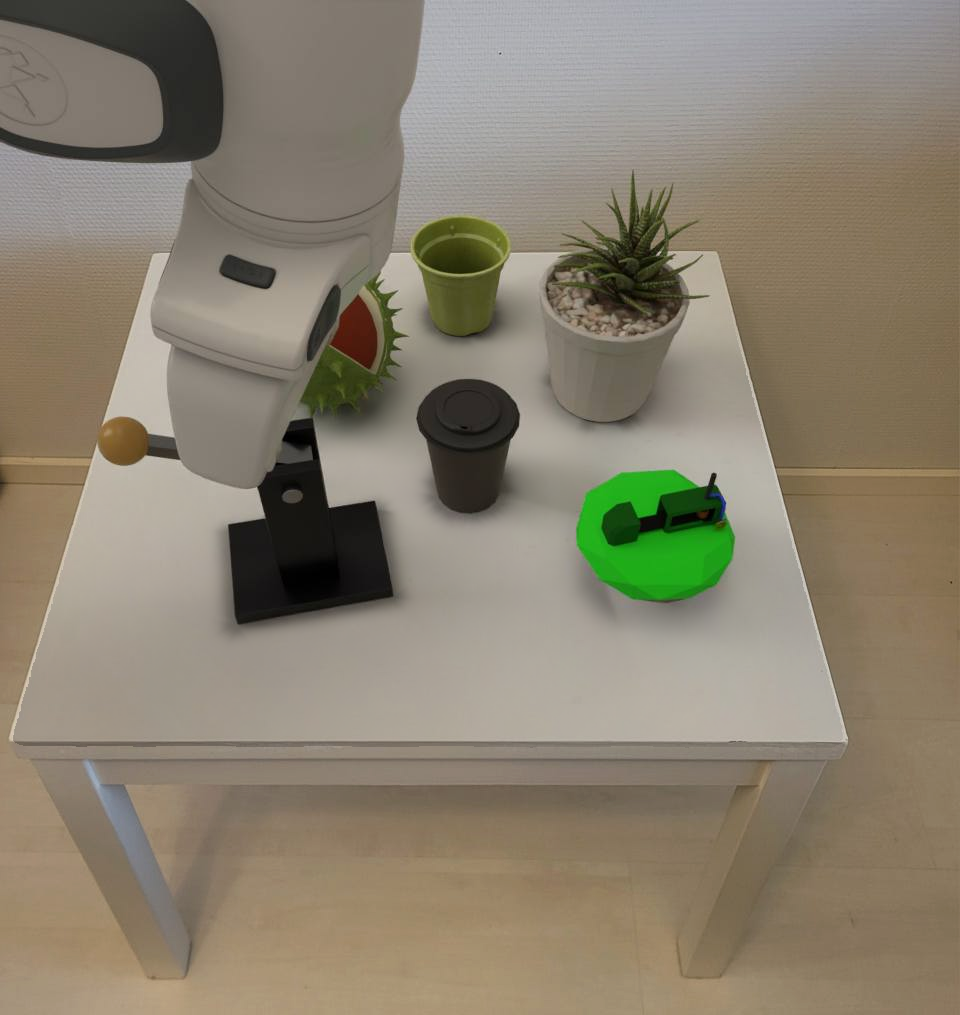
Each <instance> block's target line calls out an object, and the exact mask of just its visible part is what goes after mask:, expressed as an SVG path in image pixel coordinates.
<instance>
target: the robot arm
mask: <svg viewBox="0 0 960 1015" xmlns="http://www.w3.org/2000/svg"><path fill="white" fill-rule="evenodd" d="M425 4H426V0H0V143H2V144H3V145H7V146H8V147H12V148H14V149H16V150H20V151H23V152H27V153H30V154H34V155H37V156H43V157H49V158H55V159H64V160H74V161H86V162H88V161H89V162H100V163H102V162H104V163H120V164H122V163H123V164H177V163H178V164H179V163H187V162H190V170H191V178H189V179H188V180H187V182H186V184H185V185H186V186H185V190H184V195H183V202H182V209H181V215H180V220H179V225H178V229H177V233H176V237H175V239H174V241H173V244H172V246H171V249H170V251H169V252H170V253H169V255H168V258H167V261H166V263H165V266H164V269H163V271H162V274H161V276H160V279H159V281H158V285H157V288H156V290H155V292H154V296H153V297H152V301H151V305H150V313H149V315H150V322H151V329H152V333H153V336H154V337H155V338H157V339H158V340H160V341H163V342H164V343H167V344H170V348H169V354H168V358H167V366H166V368H167V369H166V390H167V393H166V394H167V401H168V407H169V414H170V421H171V425H172V426H171V427H172V431H173V437H174V438H175V442H176V446H177V450H178V454H179V457H180V460H179V461H180V462H181V464H182V466H183V467H184V468H185V469H186V470H187V471H189V472H190V473H192V474H194V475H196V476H198V477H201V478H204V479H206V480H209V481H211V482H215V483H217V484H221V485H225V486H228V487H232V488H236V489H241V490H252V489H255V488H257V487H258V486H259V485H260V484H261V483H262V481H263V480H264V478H265V476H266V473H267V472H270V471H272V470H273V468H274V466H275V463H276V461H277V459H278V457H279V455H280V452H281V450H282V446H281V444H282V438H283V436H284V434H285V432H286V430H287V428H288V425H289V423H290V421H292V419H293V417H294V415H295V413H296V410H297V408H298V406H299V404H300V400H301V397H302V395H303V393H304V391H305V389H306V387H307V385H308V382H309V380H310V378H311V376H312V374H313V372H314V369H315V367H316V365H317V363H318V361H319V359H320V357H321V354H322V352H323V350H324V348H325V346H328V345H330V344H331V342H332V339H333V337H334V335H335V333H336V331H337V329H338V327H339V319H340V315H341V313H342V312H343V311H344V310H345V309H346V308H347V307H348V305H349V304H350V303H351V302H352V301H353V300H354V298H355V297H356V296H357V295H358V293H359V292H360V290H361V289H362V287H363V285H365V284H367V283H368V282H369V281H370V280H372V279H373V278H374V277H375V276H376V275H377V274H378V273H379V272H380V271H381V272H382V269H384V267H385V266H386V264H387V262H388V260H389V257H390V255H391V252H392V249H393V244H394V236H395V229H396V223H397V222H396V221H397V216H398V215H397V214H398V207H399V206H398V205H399V200H400V191H401V185H402V179H403V172H404V165H405V142H404V137H403V132H402V127H401V116H402V110H403V108H404V106H405V104H406V103H407V100H408V98H409V96H410V95H411V92H412V90H413V88H414V87H413V86H414V83H415V80H416V75H417V70H418V63H419V55H420V49H421V39H422V32H423V24H424V14H425Z"/></svg>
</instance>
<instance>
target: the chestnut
mask: <svg viewBox="0 0 960 1015" xmlns="http://www.w3.org/2000/svg"><path fill="white" fill-rule="evenodd" d="M381 273H382V270H381V271H380V272H379V273H378V274H377V275H376V276H375V277H374V278H373V279H372V280H370V281H369V282H368V283H367V284H365V285H363V287H362V289H361V290H360V292H359V293H358V295H357V296H356V297H355V298H354V300H353V301H352V302H351V303H350V304H349V305H348V307H347V308H346V309H345V310H344V311H343V312H342V313H341V315H340V319H339V327H338V329H337V331H336V333H335V335H334V337H333V339H332V342H331V344H330V345H328V346H325V348H324V350H323V352H322V354H321V357H320V359H319V361H318V363H317V365H316V367H315V369H314V372H313V374H312V376H311V378H310V380H309V382H308V385H307V387H306V389H305V391H304V393H303V395H302V397H301V400H300V402H299V404H300V403H301V404H304V405H306V406H307V407H308V411H309V418H313V416H314V414H315V411H316V409H317V408H318V407H319V410H320V414H321V415H322V414H323V413H324V409H325V407H329V408H330V409H331V410H332V412H333V414H334V417H335V420H336V421H337V420H338V408H339V405H341V404H343V405H344V406H345V407H346V408H347V403H349V404H350V405H351V406H352V407H353V408H354V409H355V410H356V411H357V412H358V414H359V415H361V411H360V406H359V403H358V402H359V398H360V397H361V398H362V399H363V401H364V402H365V403H367V400H369V395H368V393H367V391H369V390H370V389H371V388H372V387H374V388H376V389H379V391H381V392H384V390H383V389H382V388H381V386H380V384H381V385H383V382H382V381H381V380H380V378H383V377H385V378H388V379H392V380H393V381H398V379H396V377H394V376H393V375H392V374H391V373H390V372H389V371H388V369H387V367H389V366H391V367H393V366H394V367H398V368H403V366H402V365H400V364H399V363H397V362H396V361H394V360H393V358H392V357H391V353H392V352H393V351H394V352H395V351H403V349H402V348H400V347H399V346H396V345H395V344H394V342H395V340H396V339H401V338H408V337H410V335H407V334H405V333H402V332H399V331H397V330H395V328H394V321H393V320H392V317H395V316H397V315H398V314H396V313H397V312H400V311H402V310H403V309H404V308H403V307H400V308H390V307H388V306H389V305H388V304H389V301H390V300H391V299H392V297H393V296H394V295H395V294H397V292H399V290H398V289H397V290H394V291H391V292H388V293H383V292H380V290H379V288H380V286H381V285H382V284H383V282H385V279H384V278H383V279H382V280H379V281H378V279H379V277H380V275H381ZM377 281H378V282H377Z"/></svg>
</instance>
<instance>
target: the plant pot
mask: <svg viewBox="0 0 960 1015" xmlns="http://www.w3.org/2000/svg"><path fill="white" fill-rule="evenodd" d="M409 248H410V255H411V257H412V260H413V261H414V262H415V264H416V265H417V267H418V269H419V271H420V272H421V276H422V282H423V285H424V290H425V294H426V299H427V303H428V309H429V313H430V317H431V320H432V322H433V324H434V325H435V327H436V328H437V329H438V330H439V331H441V332H442V333H445V334H447V335H450V336H455V337H467V336H468V335H471V334H473V333H481V332H484V331H485V330H486V329H488V327H489V326H490V325H491V323H492V321H493V317H494V311H495V307H496V306H495V305H496V300H497V296H498V289H499V284H500V279H501V278H500V277H501V273H502V271H503V269H504V266H505V264H506V262H507V261H508V260H509V257H510V255H511V252H512V241H511V238H510V236H509V235H508V233H507V231H506V230H504V229H503V227H502V226H499V225H498V224H497V223H495V222H494V221H492V220H490V219H486V218H484V217H479V216H475V215H466V214H457V215H449V216H443V217H439V218H436V219H434V220H433V219H432V220H431V221H428V222H426V223H425V224H424V225H422V226H421V227H419V228H418V229H417V230H416V232H414V234H413V235H412V237H411V240H410V247H409Z"/></svg>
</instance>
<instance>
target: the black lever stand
mask: <svg viewBox="0 0 960 1015" xmlns="http://www.w3.org/2000/svg"><path fill="white" fill-rule="evenodd" d="M282 441H287V442H293V443H300V444H306V445H311V450H312V457H313V460H309V461H303V462H296V463H290V464H283V465H277V466H274V468H273V470H272V471H270V472H267V473H266V476H265V478H264V480H263V481H262V483H261V484H260V485H259V486H258V487H256V488H257V492H258V495H259V501H260V503H261V508H262V511H263V515H264V517H263V518H259V519H252V520H245V521H240V522H234V523H228V524H227V530H228V542H229V543H228V544H229V558H230V570H231V571H230V572H231V581H232V582H231V585H232V597H233V598H232V599H233V610H234V611H233V612H234V618H235V621H236V623H237V625H243V624H248V623H254V622H259V621H265V620H271V619H276V618H282V617H287V616H295V615H299V614H303V613H304V614H305V613H310V612H315V611H322V610H327V609H333V608H339V607H343V606H350V605H356V604H361V603H367V602H372V601H379V600H383V599H388V598H393V597H394V589H393V588H394V587H393V583H392V578H391V573H390V568H389V564H388V559H387V554H386V548H385V543H384V538H383V533H382V528H381V523H380V518H379V513H378V508H377V503H376V500H374V499H373V500H369V501H362V502H357V503H350V504H343V505H337V506H332V507H329V502H328V495H327V490H326V484H325V479H324V473H323V467H322V462H321V456H320V451H319V444H318V439H317V433H316V428H315V422H314V418H313V417H312V418H310V417H307V418H299V419H293V420H291V421H290V423H289V425H288V428H287V430H286V432H285V434H284V436H283V438H282Z"/></svg>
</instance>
